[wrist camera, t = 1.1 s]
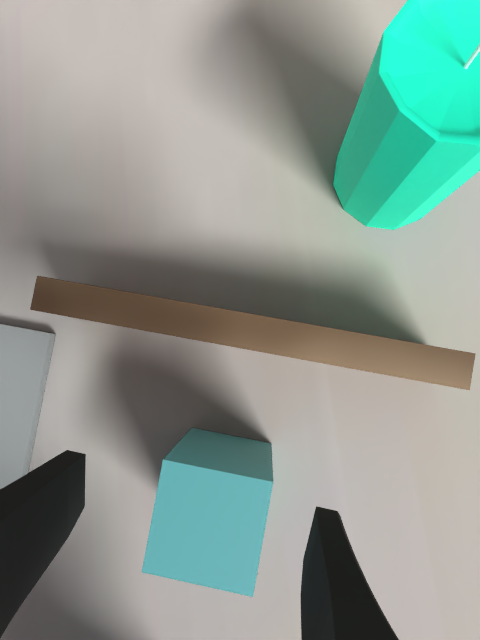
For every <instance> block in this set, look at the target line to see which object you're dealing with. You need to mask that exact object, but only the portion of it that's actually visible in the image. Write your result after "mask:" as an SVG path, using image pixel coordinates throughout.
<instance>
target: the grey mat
mask: <svg viewBox="0 0 480 640" xmlns="http://www.w3.org/2000/svg"><path fill="white" fill-rule="evenodd" d="M55 335H56V334H54V333H49V332H43V331H38V330H32V329H27V328H22V327H16V326H11V325H6V324H0V489H2V488H4V487H5V486H7V485H9V484H11V483H12V482H14V481H16V480H17V479H19V478H21V477H23V476H24V475H26V474H28V469H29V464H30V459H31V454H32V449H33V444H34V439H35V434H36V429H37V424H38V419H39V414H40V409H41V404H42V399H43V395H44V390H45V385H46V380H47V375H48V370H49V365H50V360H51V355H52V350H53V345H54V340H55Z"/></svg>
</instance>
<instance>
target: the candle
mask: <svg viewBox="0 0 480 640" xmlns="http://www.w3.org/2000/svg"><path fill="white" fill-rule="evenodd" d="M478 171H480V0H408V1H407V2H406V3H405V5H404V6H403V7H402V9H401V10H400V11H399V13H398V14H397V15H396V16H395V18H394V19H393V20H392V22H391V23H390V24H389V26H388V27H387V28H386V30H385V31H384V33H383V35H382V38H381V41H380V43H379V46H378V49H377V51H376V54H375V57H374V59H373V62H372V65H371V67H370V70H369V73H368V75H367V78H366V81H365V83H364V86H363V89H362V92H361V94H360V97H359V100H358V102H357V105H356V108H355V110H354V113H353V116H352V118H351V121H350V124H349V126H348V129H347V132H346V134H345V137H344V140H343V143H342V145H341V148H340V151H339V153H338V156H337V160H336V167H335V174H334V181H333V186H334V188H335V190H336V193H337V195H338V198H339V200H340V202H341V205H342V207H343V209H344V210H345V211H346V212H348V213H349V214H350V215H352V216H353V217H354V218H356V219H357V220H358V221H360V222H361V223H362V224H364V225H365V226H369V227H376V228H384V229H392V230H394V229H397V228H399V227H402V226H404V225H407V224H409V223H412V222H414V221H417V220H419V219H421V218H422V217H423V216H425V215H426V214H427V213H428V212H429V211H431V210H432V209H433V208H434V207H436V206H437V205H438V204H439V203H440V202H442V201H443V200H444V199H445V198H447V197H448V196H449V195H450V194H451V193H453V192H454V191H455V190H456V189H458V188H459V187H460V186H461V185H462V184H464V183H465V182H466V181H467V180H469V179H470V178H471V177H472V176H473V175H475V174H476V173H477V172H478Z"/></svg>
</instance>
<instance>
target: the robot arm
mask: <svg viewBox="0 0 480 640" xmlns="http://www.w3.org/2000/svg"><path fill="white" fill-rule="evenodd" d="M84 505H85V454H82V453H78V452H73V451H69V450H67V451H65V452H63V453H61V454H60V455H58V456H56V457H54V458H53V459H51V460H49V461H48V462H46V463H44V464H43V465H41V466H40V467H38V468H36V469H35V470H33V471H31V472H29V473H28V474H26V475H24V476H23V477H21V478H19V479H17V480H16V481H14V482H12V483H11V484H9V485H7V486H5V487H4V488H2V489H0V638H1V636H2V634H3V633H4V631H5V629H6V628H7V626H8V624H9V622H10V621H11V619H12V618H13V616H14V615H15V613H16V612H17V610H18V608H19V607H20V605H21V604H22V603H23V601H24V600H25V598H26V597H27V595H28V594H29V593H30V591H31V590H32V588H33V587H34V586H35V584H36V583H37V581H38V580H39V578H40V577H41V576H42V574H43V573H44V571H45V570H46V568H47V567H48V566H49V564H50V563H51V561H52V560H53V558H54V557H55V556H56V554H57V553H58V551H59V550H60V548H61V547H62V545H63V544H64V543H65V541H66V540H67V538H68V536H69V535H70V533H71V531H72V529H73V527H74V526H75V524H76V522H77V520H78V518H79V516H80V514H81V512H82V510H83V508H84ZM301 629H302V640H399V639H398V638H397V636H396V634H395V633H394V631H393V629H392V628H391V626H390V624H389V623H388V621H387V619H386V617H385V616H384V614H383V612H382V610H381V608H380V606H379V605H378V603H377V601H376V599H375V597H374V595H373V593H372V591H371V589H370V587H369V585H368V583H367V581H366V579H365V577H364V574H363V572H362V570H361V568H360V566H359V564H358V561H357V559H356V557H355V554H354V552H353V550H352V547H351V545H350V542H349V540H348V537H347V534H346V532H345V529H344V526H343V523H342V520H341V517H340V515H339V513H338V512H337V511H334V510H330V509H325V508H321V507H316V510H315V514H314V518H313V522H312V526H311V530H310V534H309V539H308V543H307V547H306V551H305V555H304V559H303V572H302V585H301Z"/></svg>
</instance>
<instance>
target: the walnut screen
mask: <svg viewBox="0 0 480 640" xmlns="http://www.w3.org/2000/svg"><path fill="white" fill-rule="evenodd" d="M30 310H36V311H41V312H46V313H52V314H57V315H63V316H68V317H74V318H79V319H85V320H90V321H95V322H101V323H106V324H112V325H117V326H123V327H128V328H134V329H139V330H144V331H150V332H155V333H161V334H166V335H172V336H177V337H183V338H188V339H194V340H199V341H204V342H210V343H215V344H221V345H226V346H232V347H237V348H243V349H248V350H253V351H259V352H264V353H270V354H275V355H281V356H286V357H292V358H297V359H302V360H308V361H313V362H319V363H324V364H330V365H335V366H341V367H346V368H351V369H357V370H362V371H368V372H373V373H379V374H384V375H390V376H395V377H401V378H406V379H411V380H417V381H422V382H428V383H433V384H439V385H444V386H450V387H455V388H460V389H466V390H470V384H471V378H472V372H473V365H474V359H475V354H474V353H469V352H463V351H458V350H452V349H446V348H441V347H435V346H429V345H424V344H418V343H413V342H407V341H401V340H396V339H390V338H384V337H379V336H373V335H368V334H362V333H356V332H351V331H345V330H339V329H334V328H328V327H323V326H317V325H311V324H306V323H300V322H294V321H289V320H283V319H278V318H272V317H266V316H261V315H255V314H249V313H244V312H238V311H233V310H227V309H221V308H216V307H210V306H204V305H199V304H193V303H188V302H182V301H176V300H171V299H165V298H159V297H154V296H148V295H143V294H137V293H131V292H126V291H120V290H114V289H109V288H103V287H98V286H92V285H86V284H81V283H75V282H69V281H64V280H58V279H53V278H47V277H41V276H37V279H36V284H35V289H34V294H33V299H32V304H31V308H30Z"/></svg>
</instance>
